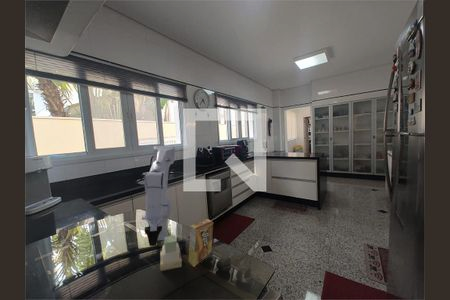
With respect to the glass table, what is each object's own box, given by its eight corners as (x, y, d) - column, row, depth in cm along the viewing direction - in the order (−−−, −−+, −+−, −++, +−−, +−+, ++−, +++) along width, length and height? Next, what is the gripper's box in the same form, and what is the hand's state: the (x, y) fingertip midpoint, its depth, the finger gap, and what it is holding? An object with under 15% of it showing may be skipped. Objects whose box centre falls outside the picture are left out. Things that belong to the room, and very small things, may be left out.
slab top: (162, 252, 69) (162, 245, 68) (177, 249, 71) (177, 242, 71) (162, 263, 63) (162, 255, 63) (179, 259, 65) (179, 252, 65)
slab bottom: (160, 258, 69) (160, 251, 69) (179, 254, 72) (179, 247, 72) (160, 272, 63) (160, 264, 62) (181, 267, 65) (181, 260, 65)
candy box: (204, 252, 74) (207, 218, 73) (211, 257, 72) (213, 222, 70) (187, 261, 68) (190, 225, 67) (194, 268, 65) (196, 229, 64)
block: (163, 246, 68) (164, 237, 67) (174, 244, 69) (174, 235, 69) (165, 253, 64) (165, 243, 64) (176, 250, 66) (176, 241, 65)
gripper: (143, 197, 68) (142, 229, 69) (140, 214, 55) (139, 253, 56) (162, 196, 71) (160, 227, 72) (164, 211, 58) (162, 249, 59)
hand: (152, 238), depth 64 cm, fingers open, 7 cm apart
